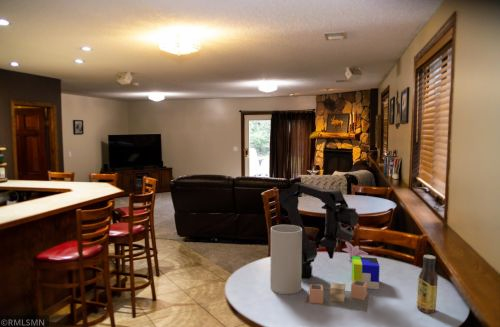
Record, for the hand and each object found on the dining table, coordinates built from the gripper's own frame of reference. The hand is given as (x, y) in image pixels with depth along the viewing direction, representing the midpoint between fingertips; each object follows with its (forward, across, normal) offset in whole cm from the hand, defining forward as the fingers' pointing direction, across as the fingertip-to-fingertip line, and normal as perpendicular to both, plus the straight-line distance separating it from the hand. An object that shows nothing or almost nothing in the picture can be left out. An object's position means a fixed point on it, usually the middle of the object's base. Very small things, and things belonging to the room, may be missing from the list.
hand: (331, 258), depth 156 cm
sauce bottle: (+11, -9, -36) cm, 38 cm away
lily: (+12, +35, -6) cm, 38 cm away
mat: (+12, -11, -5) cm, 17 cm away
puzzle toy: (+12, +8, -13) cm, 19 cm away
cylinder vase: (+12, -10, +16) cm, 23 cm away
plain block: (+11, -12, -5) cm, 17 cm away
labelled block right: (+11, -6, -12) cm, 18 cm away
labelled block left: (+11, -16, +3) cm, 20 cm away
